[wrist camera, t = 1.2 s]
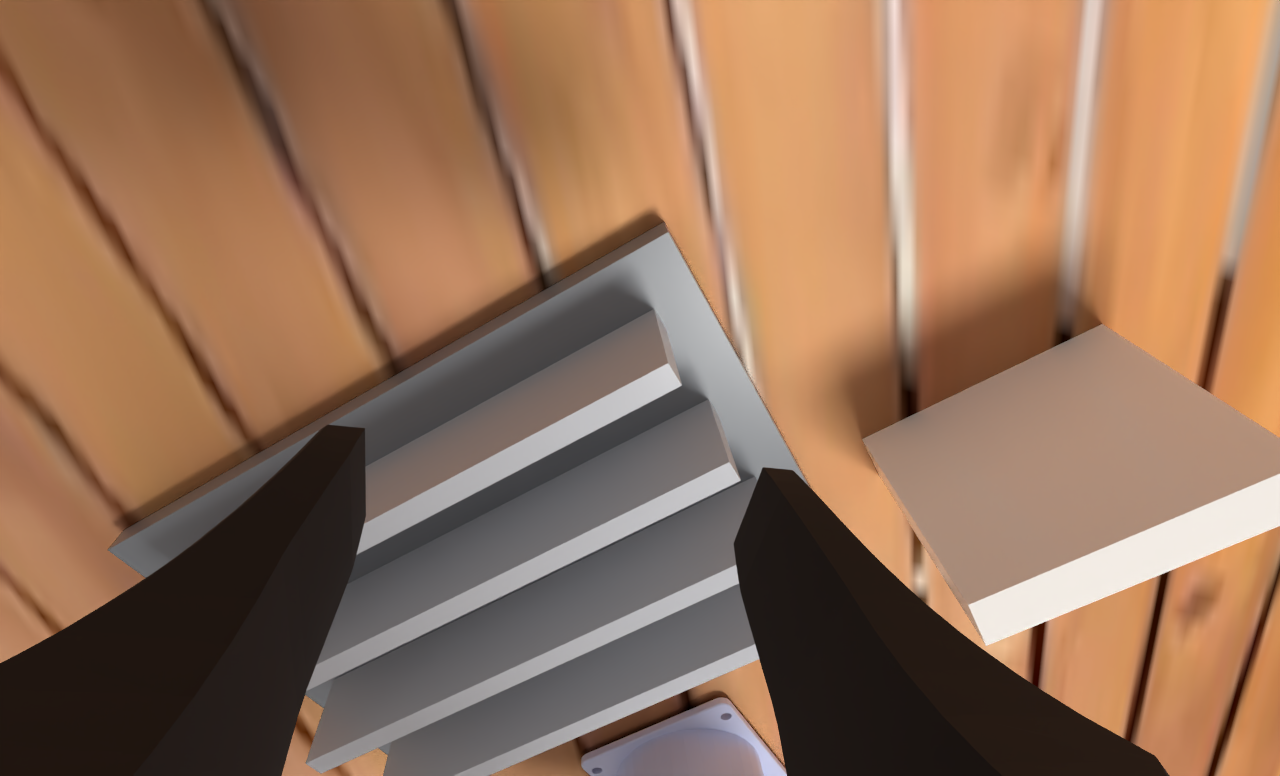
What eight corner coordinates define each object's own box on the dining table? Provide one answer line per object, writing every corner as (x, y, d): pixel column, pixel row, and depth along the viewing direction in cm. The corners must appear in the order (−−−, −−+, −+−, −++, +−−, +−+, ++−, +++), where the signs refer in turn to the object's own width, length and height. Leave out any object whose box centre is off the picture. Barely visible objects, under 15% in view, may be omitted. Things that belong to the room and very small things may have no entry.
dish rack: (846, 551, 29) (889, 641, 25) (410, 748, 33) (389, 851, 29) (664, 221, 21) (686, 276, 17) (123, 530, 25) (41, 631, 21)
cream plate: (1110, 366, 25) (1314, 511, 18) (878, 474, 27) (986, 646, 20) (1101, 323, 24) (1312, 459, 17) (861, 438, 26) (968, 604, 19)
